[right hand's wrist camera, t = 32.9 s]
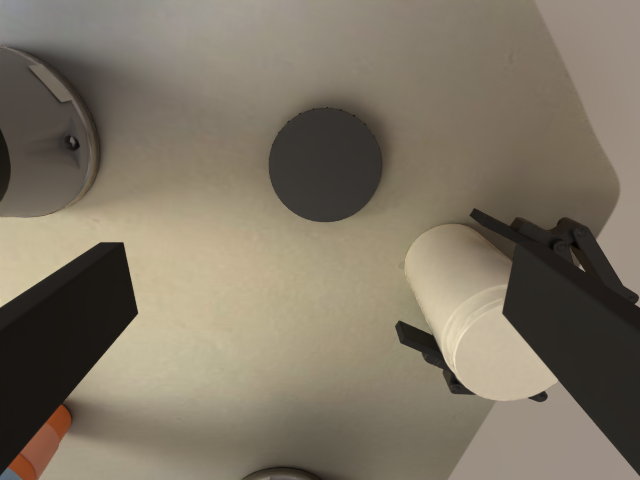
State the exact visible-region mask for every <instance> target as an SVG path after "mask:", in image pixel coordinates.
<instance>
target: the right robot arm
mask: <svg viewBox="0 0 640 480" xmlns="http://www.w3.org/2000/svg"><path fill="white" fill-rule="evenodd" d="M99 157H100V149H99V140H98V135H97V131H96V127H95V124H94V121H93V119H92V116H91V114H90V112H89V110H88V108H87V106H86V105H85V103H84V101H83V100H82V98H81V97H80V95H79V94H78V93H77V91H76V90H75V89H74V88H73V86H72V85H71V84H70V83H69V82H68V81H67V80H66V79H65V78H64V77H63V76H62V75H61V74H60V73H58V72H57V71H56V70H55V69H53V68H52V67H51V66H49V65H48V64H46V63H45V62H43V61H42V60H40V59H38V58H36V57H34V56H32V55H30V54H28V53H25V52H23V51H19V50H16V49H12V48H8V47H2V46H0V217H39V216H44V215H48V214H51V213H54V212H56V211H59V210H61V209H64V208H66V207H68V206H70V205H72V204H74V203H75V202H77V201H78V200H79V199H80V198H81V197H83V196H84V195H85V193H86V192H87V191H88V190H89V188H90V187H91V185H92V183H93V181H94V179H95V177H96V174H97V170H98V165H99ZM137 314H138V310H137V305H136V301H135V296H134V291H133V286H132V281H131V277H130V272H129V267H128V262H127V257H126V253H125V248H124V243H123V242H100V243H99V244H97V245H96V246H94V247H93V248H91V249H89V250H88V251H86V252H85V253H83V254H82V255H80V256H79V257H77V258H76V259H74V260H73V261H71V262H70V263H68V264H66V265H65V266H63V267H62V268H60V269H59V270H57V271H56V272H54V273H53V274H51V275H50V276H48V277H47V278H45V279H44V280H42V281H40V282H39V283H37V284H36V285H34V286H33V287H31V288H30V289H28V290H27V291H25V292H24V293H22V294H21V295H19V296H17V297H16V298H14V299H13V300H11V301H10V302H8V303H7V304H5V305H4V306H2V307H1V308H0V476H1V475H2V473H3V472H4V471H5V470H6V469H7V468H8V466H9V465H10V464H11V463H12V462H13V460H14V459H15V458H16V457H17V456H18V455H19V453H20V452H21V451H22V450H23V449H24V447H25V446H26V445H27V444H28V443H29V442H30V440H31V439H32V438H33V437H34V436H35V434H36V433H37V432H38V431H39V430H40V429H41V427H42V426H43V425H44V424H45V423H46V422H47V420H48V419H49V418H50V417H51V416H52V414H53V413H54V412H55V411H56V410H57V409H58V407H59V406H60V405H61V404H62V403H63V401H64V400H65V399H66V398H67V397H68V396H69V394H70V393H71V392H72V391H73V390H74V389H75V387H76V386H77V385H78V384H79V383H80V381H81V380H82V379H83V378H84V377H85V376H86V374H87V373H88V372H89V371H90V370H91V368H92V367H93V366H94V365H95V364H96V363H97V361H98V360H99V359H100V358H101V357H102V356H103V354H104V353H105V352H106V351H107V350H108V348H109V347H110V346H111V345H112V344H113V343H114V341H115V340H116V339H117V338H118V337H119V335H120V334H121V333H122V332H123V331H124V330H125V328H126V327H127V326H128V325H129V324H130V322H131V321H132V320H133V319H134V318H135V317H136V315H137ZM502 314H503V315H504V317H505V318H506V319H507V320H508V321H509V322H510V324H511V325H512V326H513V327H514V328H515V330H516V331H517V332H518V333H519V334H520V335H521V337H522V338H523V339H524V340H525V341H526V343H527V344H528V345H529V346H530V347H531V348H532V350H533V351H534V352H535V353H536V354H537V356H538V357H539V358H540V359H541V360H542V361H543V363H544V364H545V365H546V366H547V367H548V368H549V370H550V371H551V372H552V373H553V374H554V376H555V377H556V378H557V379H558V380H559V381H560V383H561V384H562V385H563V386H564V387H565V389H566V390H567V391H568V392H569V393H570V394H571V396H572V397H573V398H574V399H575V400H576V401H577V403H578V404H579V405H580V406H581V407H582V408H583V410H584V411H585V412H586V413H587V414H588V416H589V417H590V418H591V419H592V420H593V422H594V423H595V424H596V425H597V426H598V427H599V429H600V430H601V431H602V432H603V433H604V434H605V436H606V437H607V438H608V439H609V440H610V442H611V443H612V444H613V445H614V446H615V447H616V449H617V450H618V451H619V452H620V453H621V455H622V456H623V457H624V458H625V459H626V460H627V462H628V463H629V464H630V465H631V466H632V467H633V469H634V470H635V471H636V472H637V473H638V475H639V476H640V308H639V307H638V306H636V305H635V304H633V303H632V302H630V301H629V300H627V299H626V298H624V297H623V296H621V295H619V294H618V293H616V292H615V291H613V290H612V289H610V288H609V287H607V286H606V285H604V284H603V283H601V282H600V281H598V280H596V279H595V278H593V277H592V276H590V275H589V274H587V273H586V272H584V271H583V270H581V269H580V268H578V267H577V266H575V265H574V264H572V263H570V262H569V261H567V260H566V259H564V258H563V257H561V256H560V255H558V254H557V253H555V252H554V251H552V250H551V249H549V248H547V247H546V246H544V245H543V244H541V243H540V242H517V243H516V248H515V253H514V257H513V262H512V267H511V272H510V277H509V281H508V286H507V291H506V296H505V301H504V305H503V310H502Z"/></svg>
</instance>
